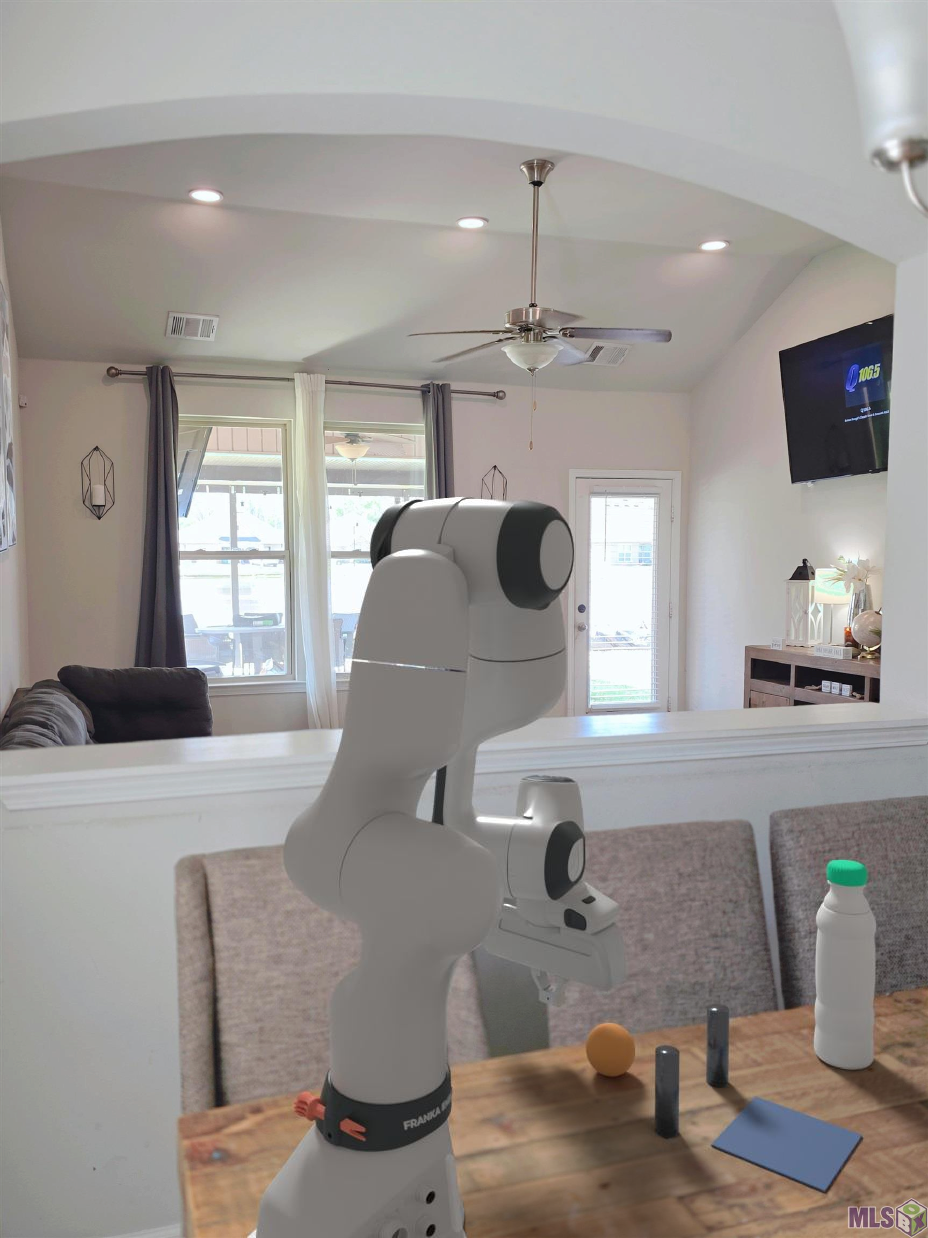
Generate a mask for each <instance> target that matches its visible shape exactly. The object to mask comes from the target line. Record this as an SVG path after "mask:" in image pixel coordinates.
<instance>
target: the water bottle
mask: <svg viewBox="0 0 928 1238" xmlns="http://www.w3.org/2000/svg"><path fill="white" fill-rule="evenodd" d="M826 880H827V884H828V885H829V891H828V892H827V894H826V895H825V896H824V898H823V902H822V903H821V904H820V906H819V908H818V910H817V912H816V917H815V922H816V927H817V932H816V941H815V942H816V945H815V992H816V999H815V1002H814V1003H815V1004H814V1020H815V1027H814V1032H813V1033H814V1036H813V1049H814V1052H815V1055H817V1057H818V1058H819V1059H820V1060H821V1061H822V1062H824V1063H826V1064H827V1065H830V1066H832V1067H835V1068H838V1069H842V1070H843V1069H844V1070H848V1071H849V1070H852V1071H855V1070H857V1071H858V1070H862V1069H865V1068H867V1067H869V1066H870V1065H871V1064H872V1063H873V1061H874V1057H875V1056H874V1055H875V1050H874V1049H875V1046H874V1045H875V1044H874V1043H875V1042H874V1035H873V1033H874V1027H875V1009H874V999H875V998H874V997H875V988H876V942H875V934H876V931H877V922H876V921H877V920H876V918H875V916H874V914H873V911H872V909H871V908H870V905H869V902H868V900H867V898H866V897H865V895H864V889H865V888H866V887H867V885H866V884H867V883H868V869H867V867H866V866H865V865H864V864H862V863H861V862H858V861H855V860H848V859H834V860H831V861H829V862H828V864H827V866H826Z"/></svg>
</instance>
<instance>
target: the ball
mask: <svg viewBox="0 0 928 1238" xmlns="http://www.w3.org/2000/svg"><path fill="white" fill-rule="evenodd" d="M585 1054H586V1056H587V1060H588V1061H589V1064H590V1065H591V1066H592V1068H593V1069H594V1070H595V1071H596V1072H598V1073H599V1074H601V1075H603V1076H606V1077H618V1076H621V1075H623V1074H625V1073H626V1072H627V1071H629V1069H630V1068H631V1067H632V1065H633V1063H634V1060H635V1057H636V1046H635V1042H634V1039H633V1037H632V1036H631V1034H630V1033H629V1031H628V1030H627V1029H625V1028H624V1027H623V1026H622V1025H619V1024H618V1023H615V1022H603V1023H601V1024H599V1025H597V1026H595V1027H594V1028H593V1029H592V1030H591V1032H589V1034H588V1037H587V1039H586V1043H585Z"/></svg>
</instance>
